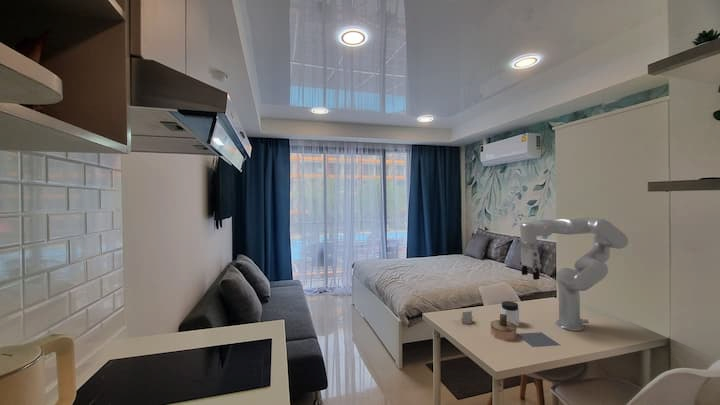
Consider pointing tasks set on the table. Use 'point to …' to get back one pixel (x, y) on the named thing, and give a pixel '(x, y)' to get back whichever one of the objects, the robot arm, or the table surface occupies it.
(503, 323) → the lid
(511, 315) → the jar
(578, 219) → the robot arm
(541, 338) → the mat
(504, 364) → the table surface
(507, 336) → the bowl
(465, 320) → the architectural model
